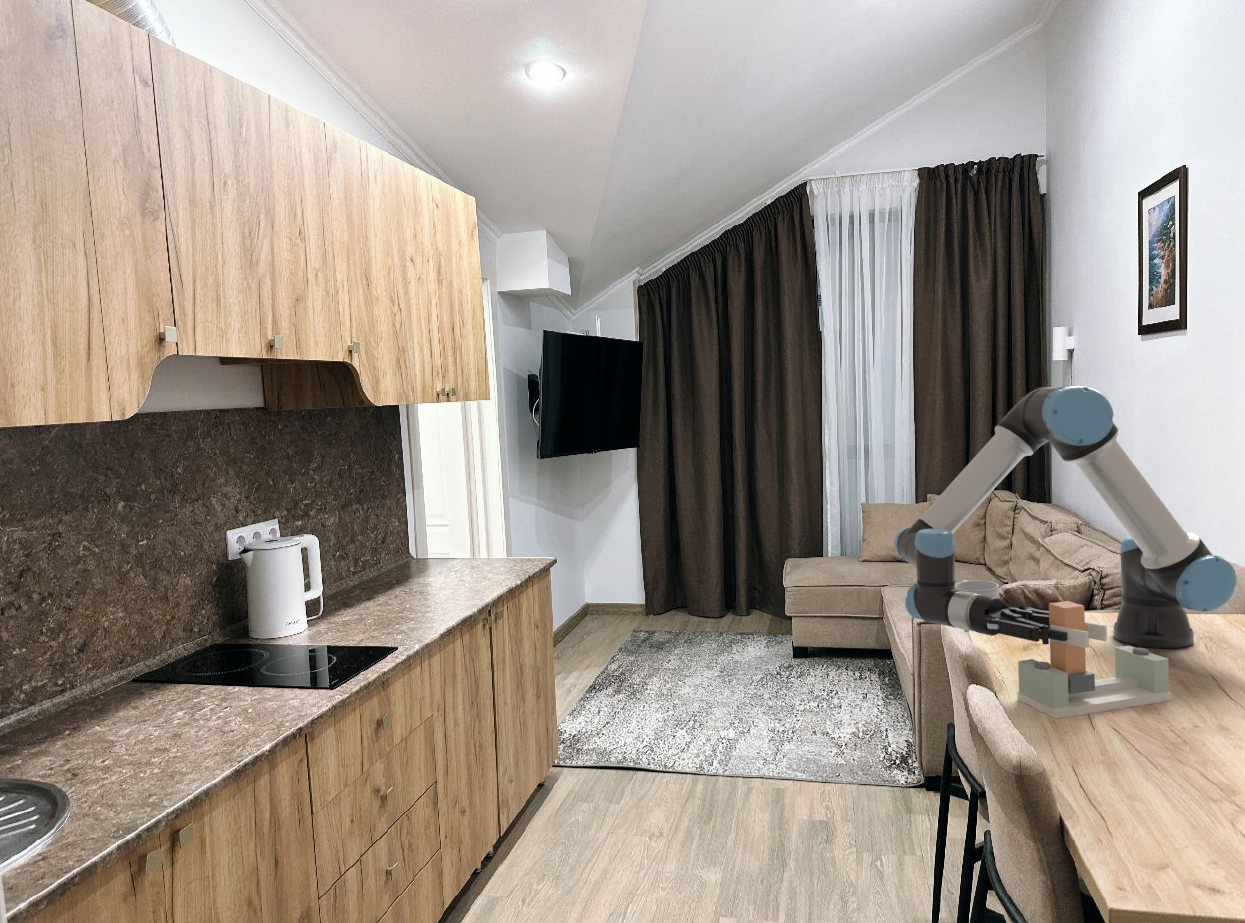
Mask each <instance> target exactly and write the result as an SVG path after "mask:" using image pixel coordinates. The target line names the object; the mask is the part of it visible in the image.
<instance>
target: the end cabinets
mask: <svg viewBox="0 0 1245 923" xmlns="http://www.w3.org/2000/svg"><path fill="white" fill-rule="evenodd" d="M1114 657H1115V658H1114V660H1115V661H1114V664H1115V668H1114V669H1115V677H1116V678H1122V677H1128V676H1131V677H1134V678H1136V679H1139V688H1142V689H1144V690H1147V691H1150V692H1152V693H1162V692H1168V691H1169V692H1170V680H1169V678H1170V676H1169V671H1170V670H1169V666H1170V665H1169V658H1168V657H1164V656H1162V655H1159V654H1155V653H1152V652H1150V650H1149V649H1147V648H1146V647H1144V648H1143V647H1134V646H1131V645H1125V646H1115V647H1114ZM1017 663H1018V664H1017V666H1018V669H1017V670H1018V692H1019V693H1021V694H1023V695H1025V696H1027V697H1029V698H1031V699H1033V700H1035V701H1037V702H1040V703H1042V704H1044V705H1046V706H1048V707H1050V708H1052V709H1059V708H1065V707H1069V702H1068V673H1066V672H1063V671H1061V670H1058V669H1056V668H1053V667H1051V666H1050V665H1051V662H1048V661H1038V660H1035V659H1033V658H1032V659H1031V658H1030V659H1023V660H1018V662H1017Z"/></svg>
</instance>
